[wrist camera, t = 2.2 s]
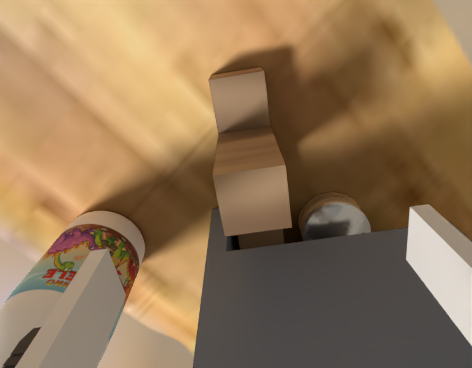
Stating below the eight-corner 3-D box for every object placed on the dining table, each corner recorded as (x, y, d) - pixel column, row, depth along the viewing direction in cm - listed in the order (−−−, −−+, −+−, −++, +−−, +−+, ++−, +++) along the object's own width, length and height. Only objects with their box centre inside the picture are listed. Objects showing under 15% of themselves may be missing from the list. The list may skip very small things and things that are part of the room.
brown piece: (211, 75, 26) (197, 102, 16) (261, 66, 26) (277, 89, 16) (249, 285, 35) (256, 386, 25) (286, 281, 35) (307, 380, 25)
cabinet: (206, 205, 31) (166, 448, 13) (410, 175, 30) (681, 398, 12) (231, 319, 37) (229, 590, 19) (401, 298, 36) (569, 567, 18)
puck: (295, 196, 31) (300, 211, 28) (360, 187, 30) (371, 201, 28) (300, 247, 33) (306, 265, 31) (360, 239, 33) (370, 257, 31)
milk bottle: (134, 281, 35) (27, 550, 17) (61, 257, 34) (-141, 522, 16) (156, 224, 32) (56, 477, 14) (77, 196, 31) (-149, 435, 13)
